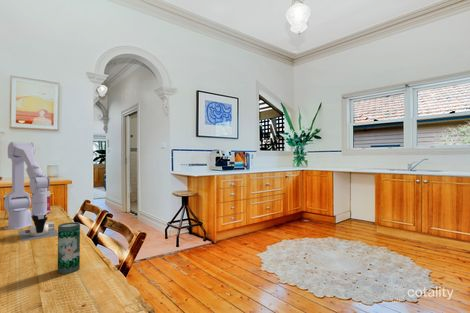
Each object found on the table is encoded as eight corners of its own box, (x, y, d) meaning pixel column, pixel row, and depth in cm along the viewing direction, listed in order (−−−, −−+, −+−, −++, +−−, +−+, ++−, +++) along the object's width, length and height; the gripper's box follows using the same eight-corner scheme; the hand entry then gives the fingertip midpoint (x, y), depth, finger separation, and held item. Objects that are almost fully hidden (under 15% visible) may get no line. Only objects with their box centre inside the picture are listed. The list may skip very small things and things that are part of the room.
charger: (40, 229, 134) (40, 223, 134) (52, 227, 137) (52, 221, 137) (41, 231, 130) (41, 225, 130) (54, 229, 134) (54, 223, 134)
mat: (18, 231, 130) (18, 231, 130) (53, 227, 140) (53, 226, 140) (20, 242, 115) (20, 241, 115) (59, 236, 125) (59, 235, 125)
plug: (25, 237, 120) (25, 228, 120) (25, 235, 123) (25, 226, 123) (53, 233, 127) (53, 224, 127) (52, 231, 130) (52, 223, 130)
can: (56, 275, 85) (57, 227, 85) (59, 268, 90) (59, 223, 90) (79, 271, 87) (79, 225, 87) (80, 264, 93) (80, 221, 93)
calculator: (38, 216, 162) (38, 191, 162) (31, 216, 162) (31, 191, 162) (51, 212, 173) (51, 189, 173) (44, 212, 173) (44, 189, 173)
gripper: (52, 203, 122) (51, 233, 122) (47, 199, 133) (47, 226, 133) (32, 205, 118) (32, 236, 118) (30, 201, 129) (29, 229, 129)
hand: (39, 231), depth 125 cm, fingers closed on plug, 4 cm apart
